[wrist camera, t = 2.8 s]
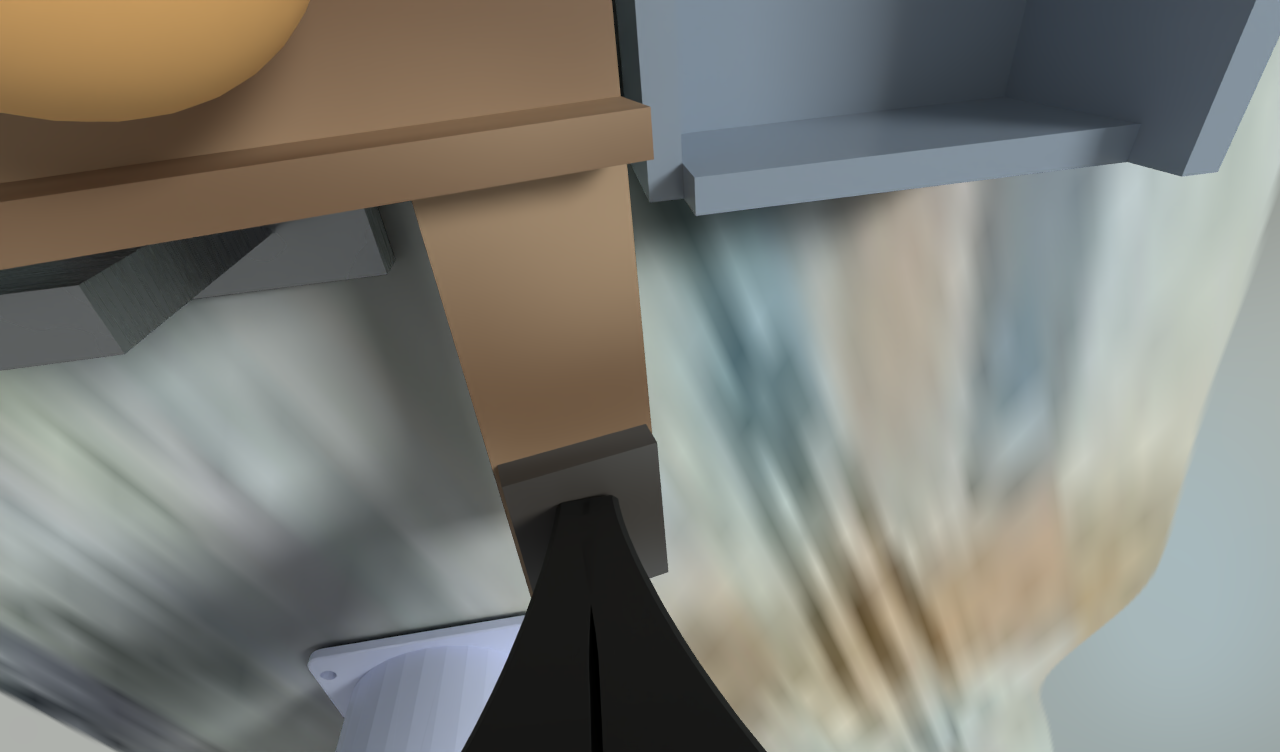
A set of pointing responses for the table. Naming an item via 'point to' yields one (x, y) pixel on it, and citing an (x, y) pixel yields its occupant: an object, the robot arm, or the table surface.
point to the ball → (133, 54)
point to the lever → (418, 213)
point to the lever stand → (173, 283)
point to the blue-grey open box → (930, 91)
